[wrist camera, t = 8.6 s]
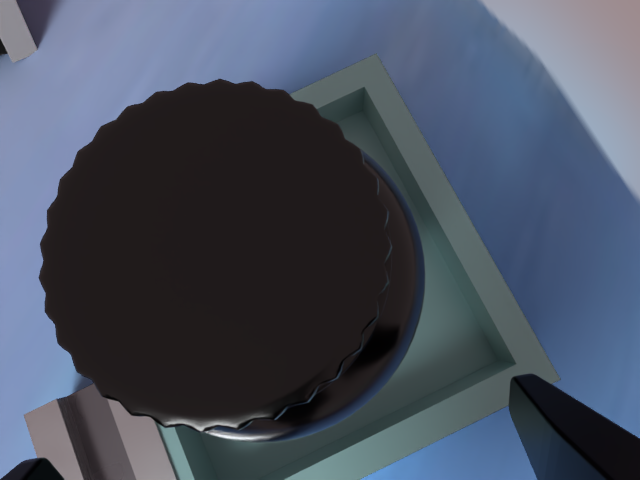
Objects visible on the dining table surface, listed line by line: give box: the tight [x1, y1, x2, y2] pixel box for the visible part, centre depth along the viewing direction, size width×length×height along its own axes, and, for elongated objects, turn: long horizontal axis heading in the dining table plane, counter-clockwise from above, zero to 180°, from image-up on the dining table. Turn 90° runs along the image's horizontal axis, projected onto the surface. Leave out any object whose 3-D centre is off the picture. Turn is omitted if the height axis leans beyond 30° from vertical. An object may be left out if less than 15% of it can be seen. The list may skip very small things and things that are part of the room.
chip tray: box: [156, 53, 561, 480], centre depth 17 cm, size 13×13×2 cm
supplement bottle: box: [39, 79, 425, 443], centre depth 12 cm, size 7×7×12 cm
